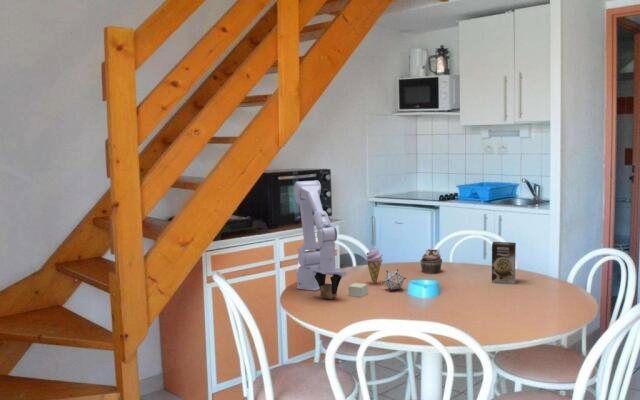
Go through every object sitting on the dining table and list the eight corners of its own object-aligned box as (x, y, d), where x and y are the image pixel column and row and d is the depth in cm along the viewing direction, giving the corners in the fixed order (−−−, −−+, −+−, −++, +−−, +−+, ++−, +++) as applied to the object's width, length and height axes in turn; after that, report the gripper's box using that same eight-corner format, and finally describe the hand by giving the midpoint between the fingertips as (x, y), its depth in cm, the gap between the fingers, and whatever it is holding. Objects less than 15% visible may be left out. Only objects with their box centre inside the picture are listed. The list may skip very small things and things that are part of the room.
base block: (348, 296, 224) (348, 286, 224) (355, 292, 229) (354, 282, 228) (361, 297, 221) (361, 287, 221) (367, 294, 226) (367, 284, 226)
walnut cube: (320, 297, 221) (320, 286, 220) (326, 294, 224) (326, 283, 224) (331, 299, 218) (330, 287, 218) (336, 296, 222) (336, 284, 222)
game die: (398, 300, 229) (405, 283, 223) (378, 292, 231) (384, 275, 224) (403, 284, 236) (410, 268, 229) (383, 276, 237) (389, 260, 231)
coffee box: (491, 283, 236) (491, 244, 234) (492, 279, 242) (492, 241, 240) (514, 284, 232) (514, 244, 231) (515, 280, 238) (515, 241, 237)
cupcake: (419, 269, 264) (419, 247, 263) (441, 269, 263) (441, 247, 262) (420, 274, 255) (420, 252, 254) (443, 274, 253) (442, 251, 252)
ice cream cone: (383, 281, 244) (382, 246, 242) (383, 285, 238) (382, 249, 236) (367, 282, 244) (366, 247, 243) (367, 285, 238) (366, 249, 237)
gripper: (305, 258, 220) (307, 293, 221) (339, 261, 213) (340, 297, 214) (315, 255, 226) (316, 289, 228) (348, 258, 219) (349, 293, 220)
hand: (328, 293), depth 221 cm, fingers closed on walnut cube, 4 cm apart
